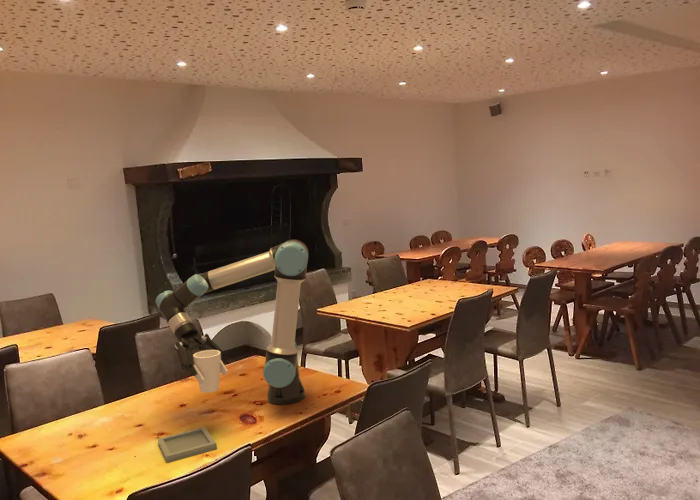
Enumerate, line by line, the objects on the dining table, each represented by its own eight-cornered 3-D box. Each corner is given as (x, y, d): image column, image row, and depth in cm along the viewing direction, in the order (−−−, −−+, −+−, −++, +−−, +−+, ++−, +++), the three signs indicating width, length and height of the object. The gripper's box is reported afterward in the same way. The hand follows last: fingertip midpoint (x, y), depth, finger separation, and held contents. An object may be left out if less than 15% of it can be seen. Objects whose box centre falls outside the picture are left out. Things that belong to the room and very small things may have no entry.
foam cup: (211, 383, 208) (208, 348, 207) (228, 387, 203) (226, 352, 201) (190, 391, 201) (187, 355, 199) (207, 396, 195) (204, 359, 194)
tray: (205, 432, 202) (204, 426, 201) (216, 448, 188) (216, 443, 187) (158, 444, 194) (157, 438, 194) (166, 462, 180) (166, 456, 180)
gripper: (204, 327, 218) (234, 374, 210) (152, 341, 200) (183, 393, 192) (212, 315, 214) (243, 362, 206) (160, 328, 197) (191, 381, 189)
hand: (214, 377), depth 199 cm, fingers closed on foam cup, 9 cm apart
